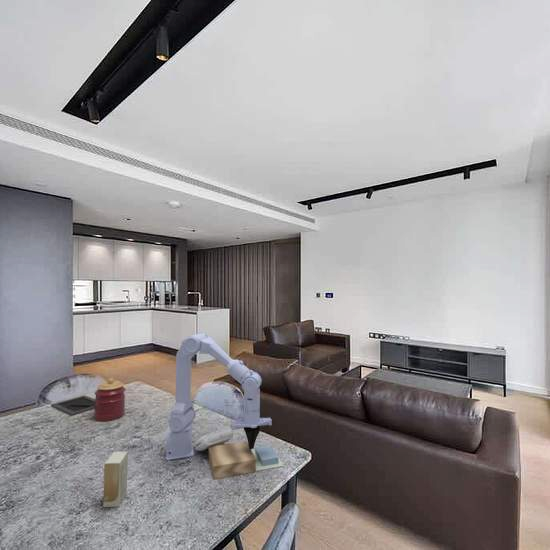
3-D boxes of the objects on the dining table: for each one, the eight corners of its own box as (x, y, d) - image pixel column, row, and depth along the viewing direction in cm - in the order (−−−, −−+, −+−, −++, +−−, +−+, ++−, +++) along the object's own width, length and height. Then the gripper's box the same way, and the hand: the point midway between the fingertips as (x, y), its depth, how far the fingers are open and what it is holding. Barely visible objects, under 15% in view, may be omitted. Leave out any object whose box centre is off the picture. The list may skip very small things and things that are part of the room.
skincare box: (112, 493, 92) (113, 451, 93) (127, 492, 93) (128, 450, 93) (102, 508, 86) (103, 463, 87) (118, 507, 86) (119, 462, 87)
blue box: (278, 457, 109) (278, 463, 109) (270, 445, 117) (270, 450, 117) (261, 460, 107) (261, 466, 107) (255, 447, 116) (255, 452, 115)
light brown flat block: (213, 479, 100) (213, 466, 100) (208, 458, 112) (208, 446, 112) (255, 471, 104) (255, 459, 104) (246, 452, 117) (246, 441, 117)
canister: (130, 414, 149) (131, 377, 150) (103, 424, 138) (104, 384, 139) (115, 408, 156) (116, 372, 157) (88, 417, 145) (89, 379, 146)
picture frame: (105, 406, 160) (84, 398, 171) (105, 402, 160) (84, 394, 171) (71, 417, 147) (51, 407, 158) (71, 412, 147) (51, 403, 158)
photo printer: (231, 425, 119) (200, 434, 111) (234, 437, 117) (203, 447, 109) (220, 432, 125) (191, 442, 118) (223, 444, 123) (193, 454, 116)
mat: (255, 471, 104) (255, 470, 104) (246, 452, 117) (246, 451, 117) (283, 466, 107) (283, 465, 108) (272, 447, 120) (272, 447, 120)
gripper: (233, 415, 105) (232, 456, 105) (274, 410, 110) (274, 450, 109) (229, 407, 112) (229, 446, 111) (268, 403, 116) (268, 440, 116)
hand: (251, 447), depth 111 cm, fingers closed
